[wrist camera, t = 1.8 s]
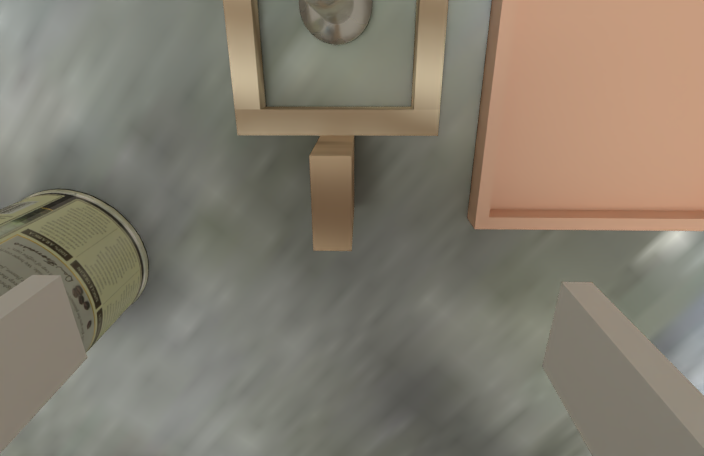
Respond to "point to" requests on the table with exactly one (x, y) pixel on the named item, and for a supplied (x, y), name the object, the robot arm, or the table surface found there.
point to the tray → (591, 117)
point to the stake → (336, 19)
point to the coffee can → (75, 255)
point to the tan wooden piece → (334, 114)
